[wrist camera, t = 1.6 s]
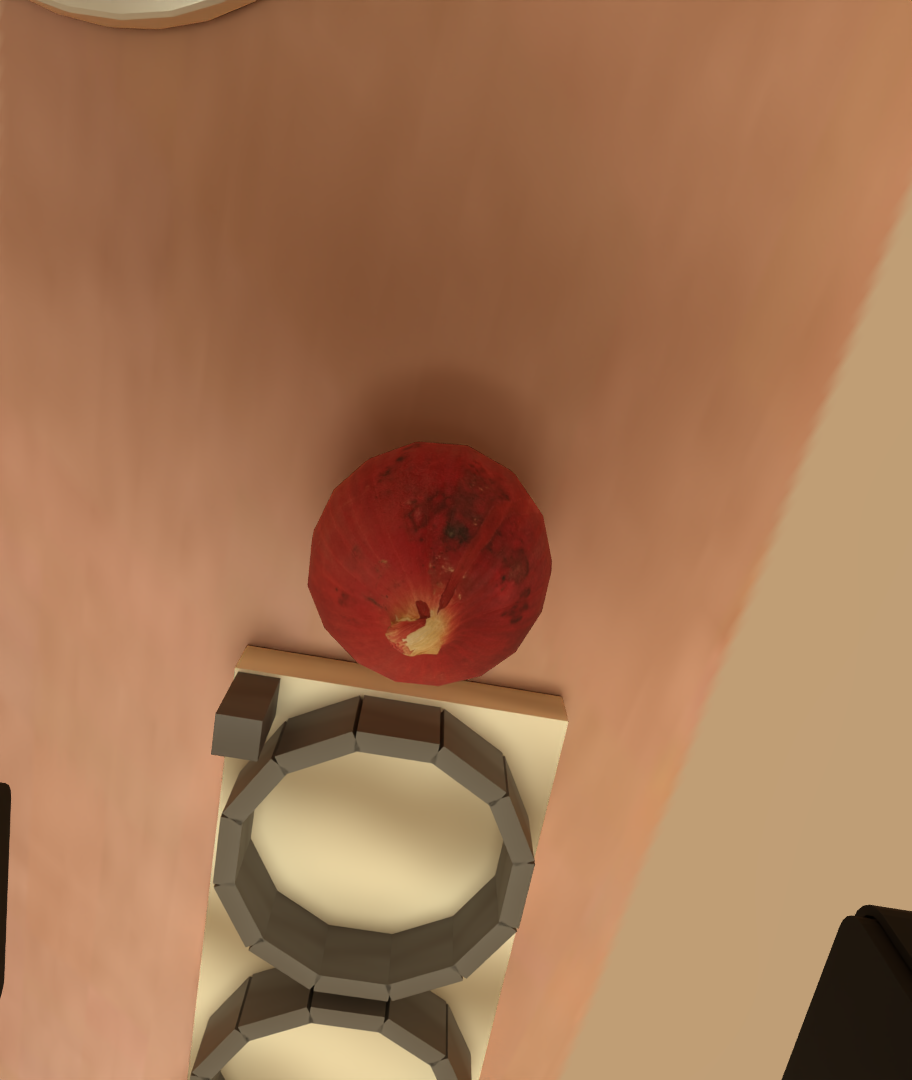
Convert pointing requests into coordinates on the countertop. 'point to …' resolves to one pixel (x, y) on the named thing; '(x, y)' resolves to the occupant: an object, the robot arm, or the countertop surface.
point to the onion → (430, 564)
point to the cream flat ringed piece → (366, 870)
